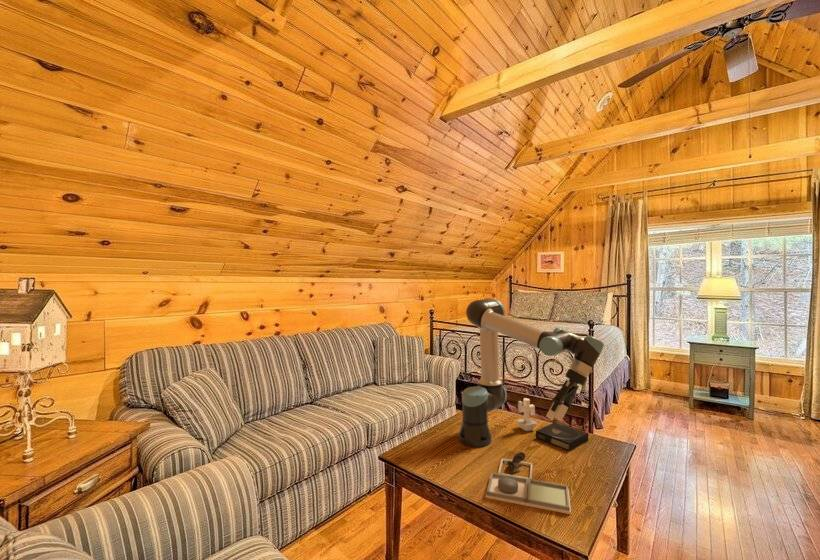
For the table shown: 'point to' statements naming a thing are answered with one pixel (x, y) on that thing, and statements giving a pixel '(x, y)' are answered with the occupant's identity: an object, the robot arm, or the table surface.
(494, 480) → the tray
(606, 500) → the table surface
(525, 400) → the figurine
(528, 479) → the white square frame
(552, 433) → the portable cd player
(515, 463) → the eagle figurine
